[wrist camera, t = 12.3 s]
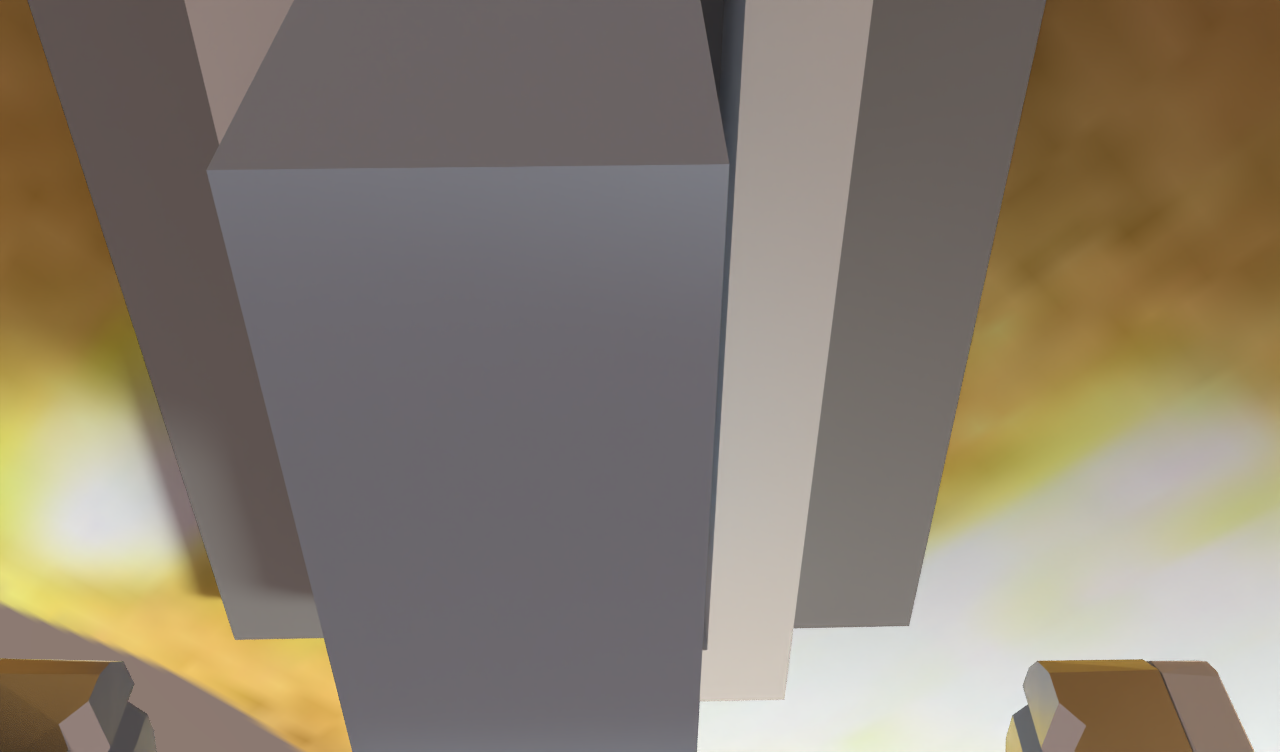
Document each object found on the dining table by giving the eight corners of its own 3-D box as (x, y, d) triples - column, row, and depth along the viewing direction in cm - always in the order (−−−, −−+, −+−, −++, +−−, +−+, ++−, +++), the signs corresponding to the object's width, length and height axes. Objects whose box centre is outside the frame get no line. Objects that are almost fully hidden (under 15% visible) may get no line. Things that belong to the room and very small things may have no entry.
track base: (1171, -733, 13) (1327, -772, 10) (899, 589, 26) (935, 727, 23) (-166, -740, 12) (-380, -784, 10) (246, 602, 26) (203, 744, 23)
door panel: (658, -234, 15) (730, 163, 7) (650, 477, 22) (679, 1052, 14) (413, -232, 15) (205, 169, 7) (488, 480, 22) (429, 1059, 14)
